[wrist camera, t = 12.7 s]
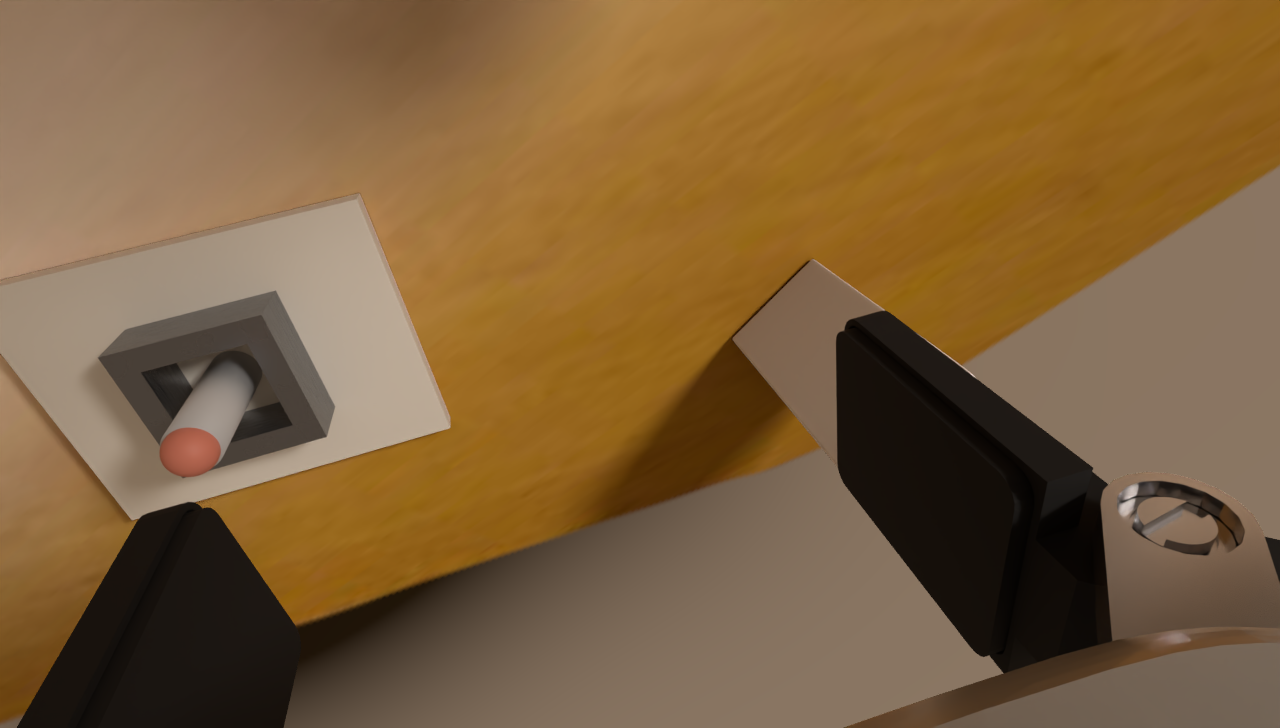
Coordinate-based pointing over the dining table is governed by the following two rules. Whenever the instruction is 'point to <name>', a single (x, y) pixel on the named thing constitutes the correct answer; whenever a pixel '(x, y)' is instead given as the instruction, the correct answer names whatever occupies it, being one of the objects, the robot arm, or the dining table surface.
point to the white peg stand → (230, 379)
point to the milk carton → (806, 346)
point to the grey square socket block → (260, 321)
